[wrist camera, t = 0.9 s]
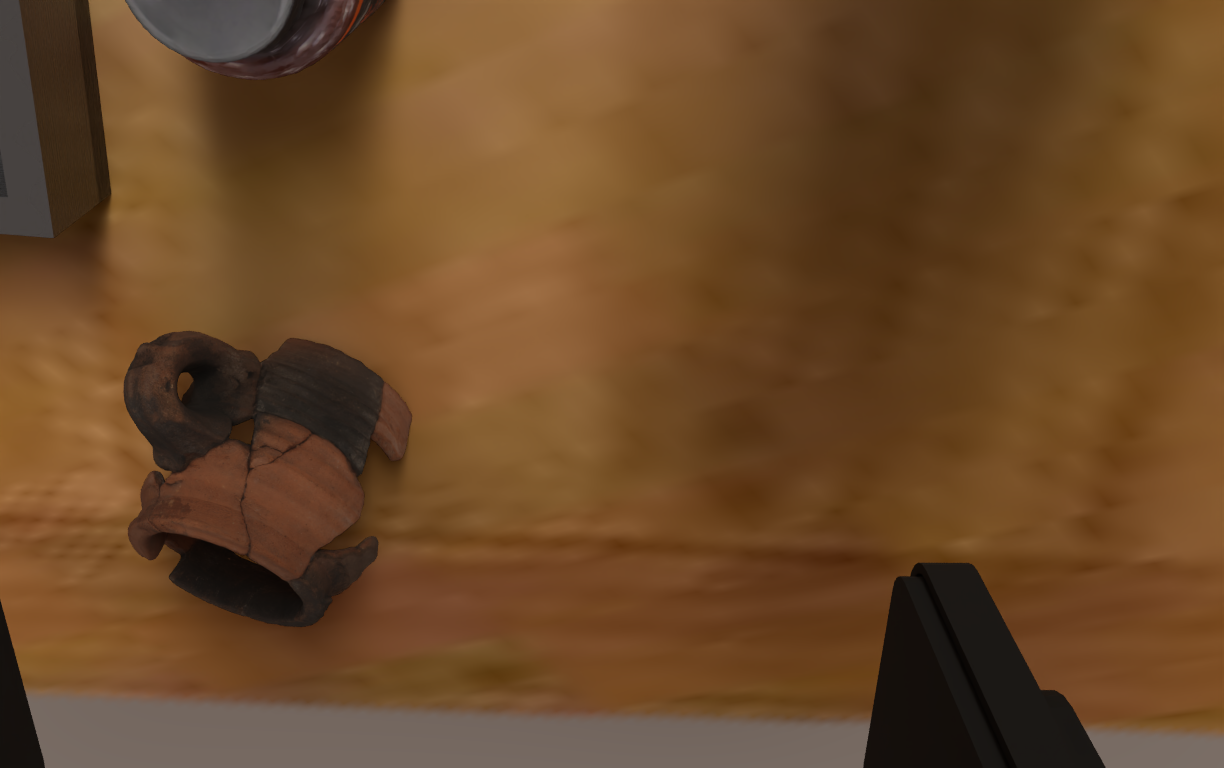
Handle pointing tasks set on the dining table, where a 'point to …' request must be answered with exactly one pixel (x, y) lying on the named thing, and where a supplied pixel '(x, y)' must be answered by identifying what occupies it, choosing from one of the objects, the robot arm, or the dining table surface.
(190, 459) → the pottery mug
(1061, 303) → the dining table surface
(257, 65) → the supplement bottle
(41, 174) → the can holder
